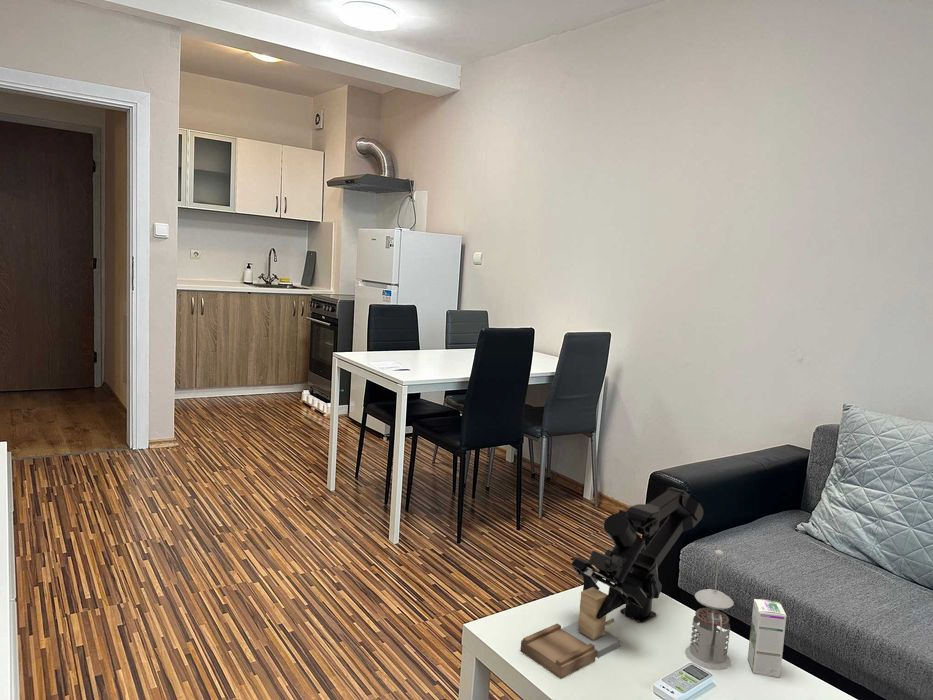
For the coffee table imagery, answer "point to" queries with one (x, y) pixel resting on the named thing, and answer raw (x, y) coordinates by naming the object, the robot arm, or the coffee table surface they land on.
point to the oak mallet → (592, 613)
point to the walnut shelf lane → (558, 651)
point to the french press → (711, 629)
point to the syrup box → (766, 637)
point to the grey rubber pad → (600, 643)
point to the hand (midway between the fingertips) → (589, 613)
